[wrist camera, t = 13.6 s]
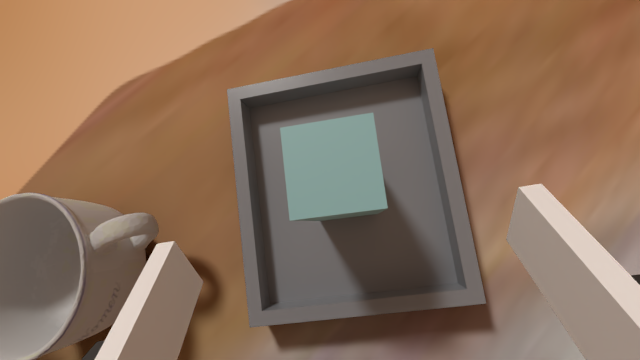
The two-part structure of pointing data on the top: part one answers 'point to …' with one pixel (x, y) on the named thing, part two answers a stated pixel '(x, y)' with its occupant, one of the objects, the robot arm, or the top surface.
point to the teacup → (64, 270)
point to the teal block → (333, 169)
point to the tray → (362, 231)
